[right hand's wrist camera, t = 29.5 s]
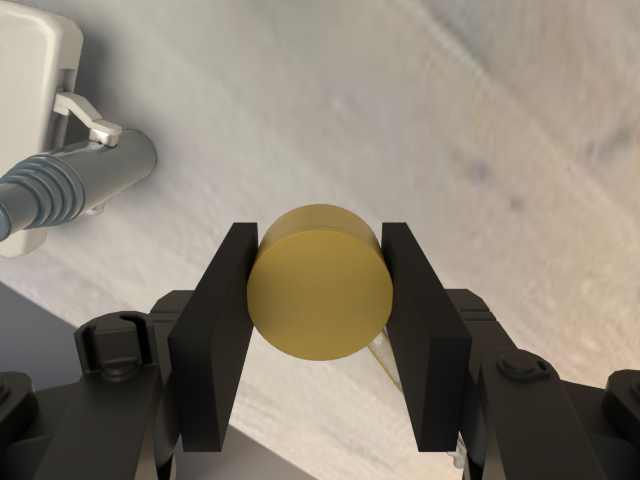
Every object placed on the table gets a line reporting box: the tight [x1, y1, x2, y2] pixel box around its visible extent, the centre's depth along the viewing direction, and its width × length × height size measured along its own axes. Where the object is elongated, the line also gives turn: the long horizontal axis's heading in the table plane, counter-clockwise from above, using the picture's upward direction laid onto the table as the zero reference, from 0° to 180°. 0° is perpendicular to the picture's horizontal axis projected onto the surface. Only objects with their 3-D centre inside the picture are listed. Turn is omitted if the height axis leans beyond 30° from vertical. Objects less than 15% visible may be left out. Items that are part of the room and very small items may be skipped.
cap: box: [247, 204, 393, 361], centre depth 13 cm, size 4×4×2 cm
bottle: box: [0, 129, 157, 242], centre depth 33 cm, size 5×5×20 cm
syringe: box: [367, 330, 467, 469], centre depth 50 cm, size 25×4×3 cm, turn 31°
